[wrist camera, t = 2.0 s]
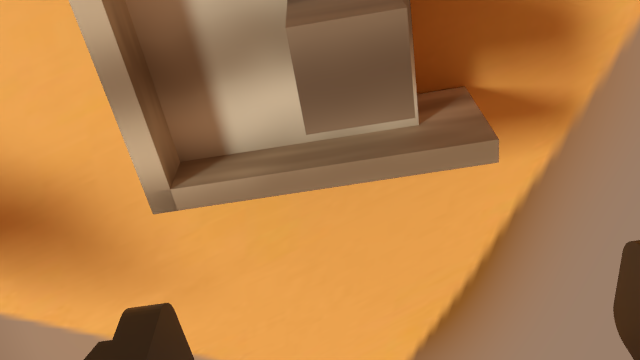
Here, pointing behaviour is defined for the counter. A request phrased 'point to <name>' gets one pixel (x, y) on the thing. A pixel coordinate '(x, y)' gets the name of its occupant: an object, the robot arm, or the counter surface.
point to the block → (350, 62)
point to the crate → (250, 107)
